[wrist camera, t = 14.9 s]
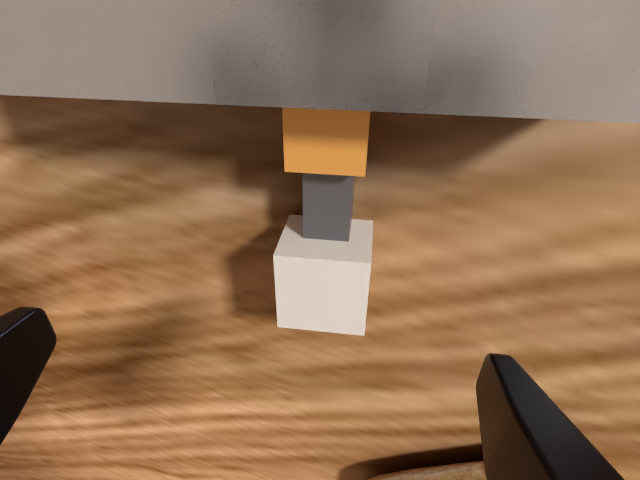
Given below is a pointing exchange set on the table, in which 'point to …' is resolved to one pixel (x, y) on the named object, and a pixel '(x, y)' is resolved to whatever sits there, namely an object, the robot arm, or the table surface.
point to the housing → (333, 54)
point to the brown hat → (440, 473)
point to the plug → (324, 224)
